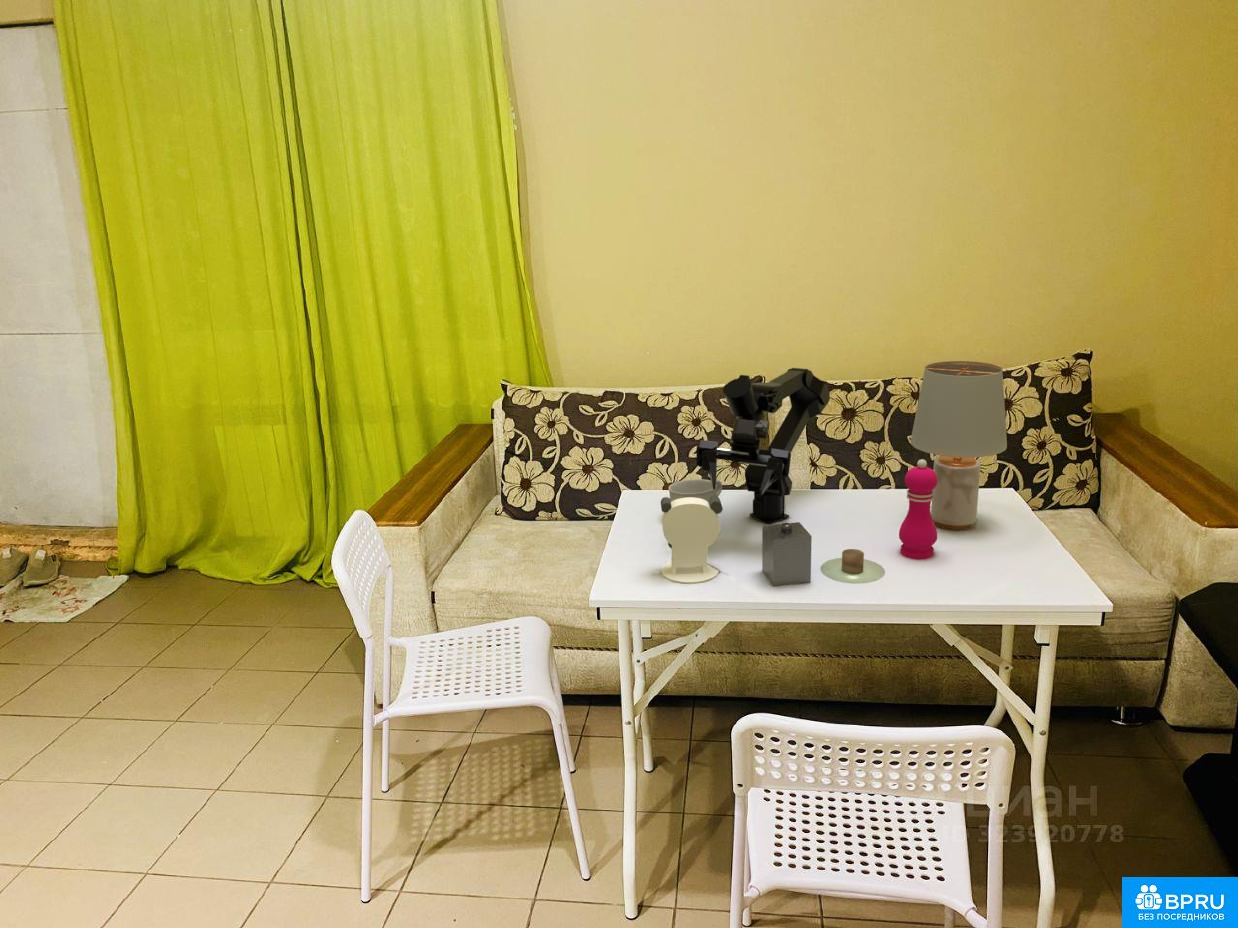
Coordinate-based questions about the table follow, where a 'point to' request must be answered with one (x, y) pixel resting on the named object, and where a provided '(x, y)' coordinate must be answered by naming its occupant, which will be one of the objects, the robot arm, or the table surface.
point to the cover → (786, 554)
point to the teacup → (694, 489)
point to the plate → (868, 575)
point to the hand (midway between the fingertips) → (737, 490)
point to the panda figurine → (690, 537)
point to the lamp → (959, 433)
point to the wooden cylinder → (852, 561)
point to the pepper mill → (919, 513)
